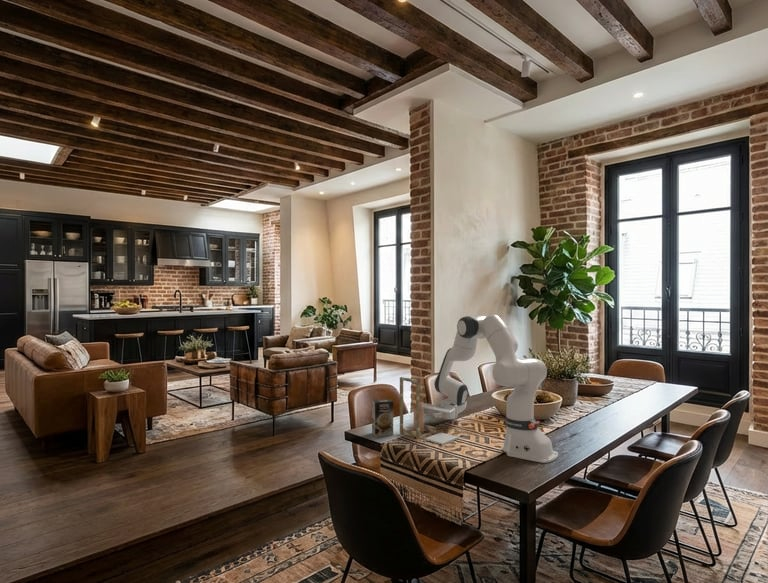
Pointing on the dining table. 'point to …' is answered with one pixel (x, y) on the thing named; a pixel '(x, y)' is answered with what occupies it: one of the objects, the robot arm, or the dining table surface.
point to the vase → (420, 420)
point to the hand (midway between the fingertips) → (426, 414)
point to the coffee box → (382, 417)
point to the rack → (426, 428)
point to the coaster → (441, 438)
